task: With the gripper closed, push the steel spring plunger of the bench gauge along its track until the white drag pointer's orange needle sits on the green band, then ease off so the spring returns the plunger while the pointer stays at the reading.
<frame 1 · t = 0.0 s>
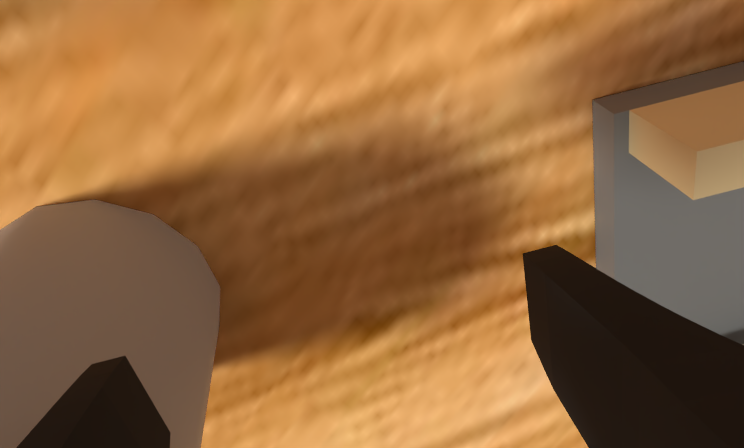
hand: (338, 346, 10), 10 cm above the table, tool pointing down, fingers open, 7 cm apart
cup: (105, 299, 21), on the table
gauge base: (721, 289, 25), on the table
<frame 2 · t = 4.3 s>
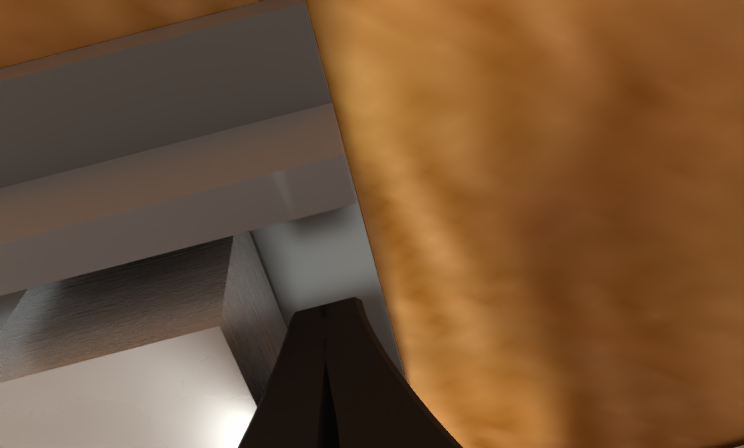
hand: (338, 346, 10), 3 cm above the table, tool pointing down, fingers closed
plunger: (100, 414, 10), point 4 cm above the table, slide at 1.4 cm, touching gripper, pointer
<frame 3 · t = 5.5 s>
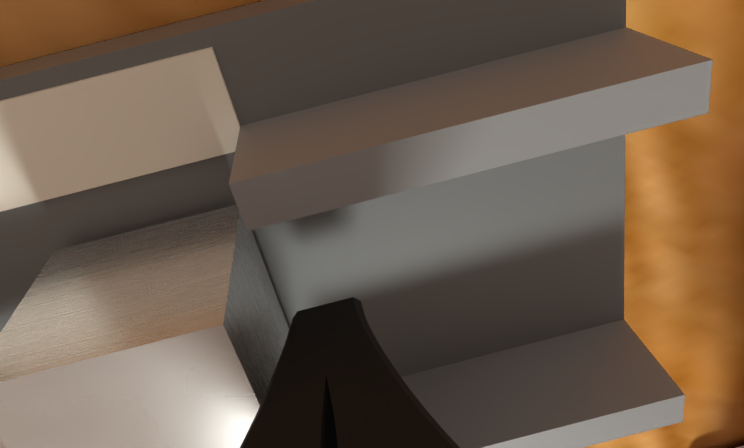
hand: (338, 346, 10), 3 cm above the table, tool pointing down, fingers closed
plunger: (102, 413, 10), point 4 cm above the table, slide at 6.7 cm, touching gripper, pointer
gauge base: (172, 288, 13), on the table
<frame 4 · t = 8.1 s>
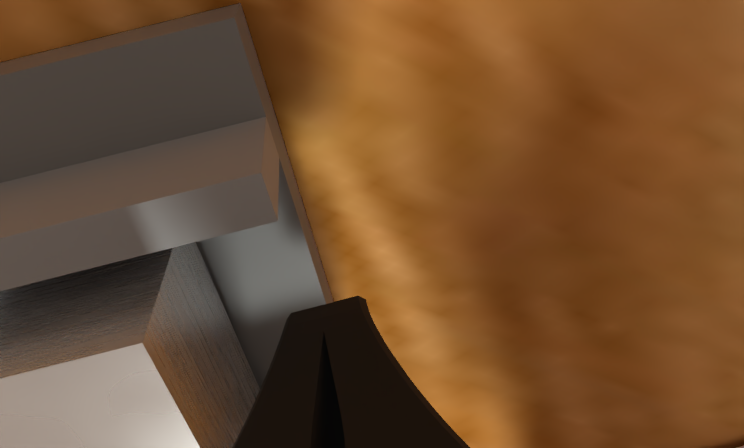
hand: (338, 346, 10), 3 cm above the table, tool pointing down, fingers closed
plunger: (41, 427, 10), point 4 cm above the table, slide at 1.2 cm
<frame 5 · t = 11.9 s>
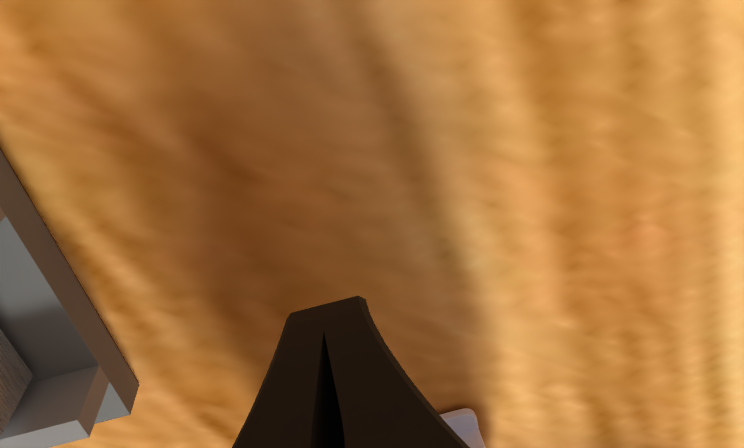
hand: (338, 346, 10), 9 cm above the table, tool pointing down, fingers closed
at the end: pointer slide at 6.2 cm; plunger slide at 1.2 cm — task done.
